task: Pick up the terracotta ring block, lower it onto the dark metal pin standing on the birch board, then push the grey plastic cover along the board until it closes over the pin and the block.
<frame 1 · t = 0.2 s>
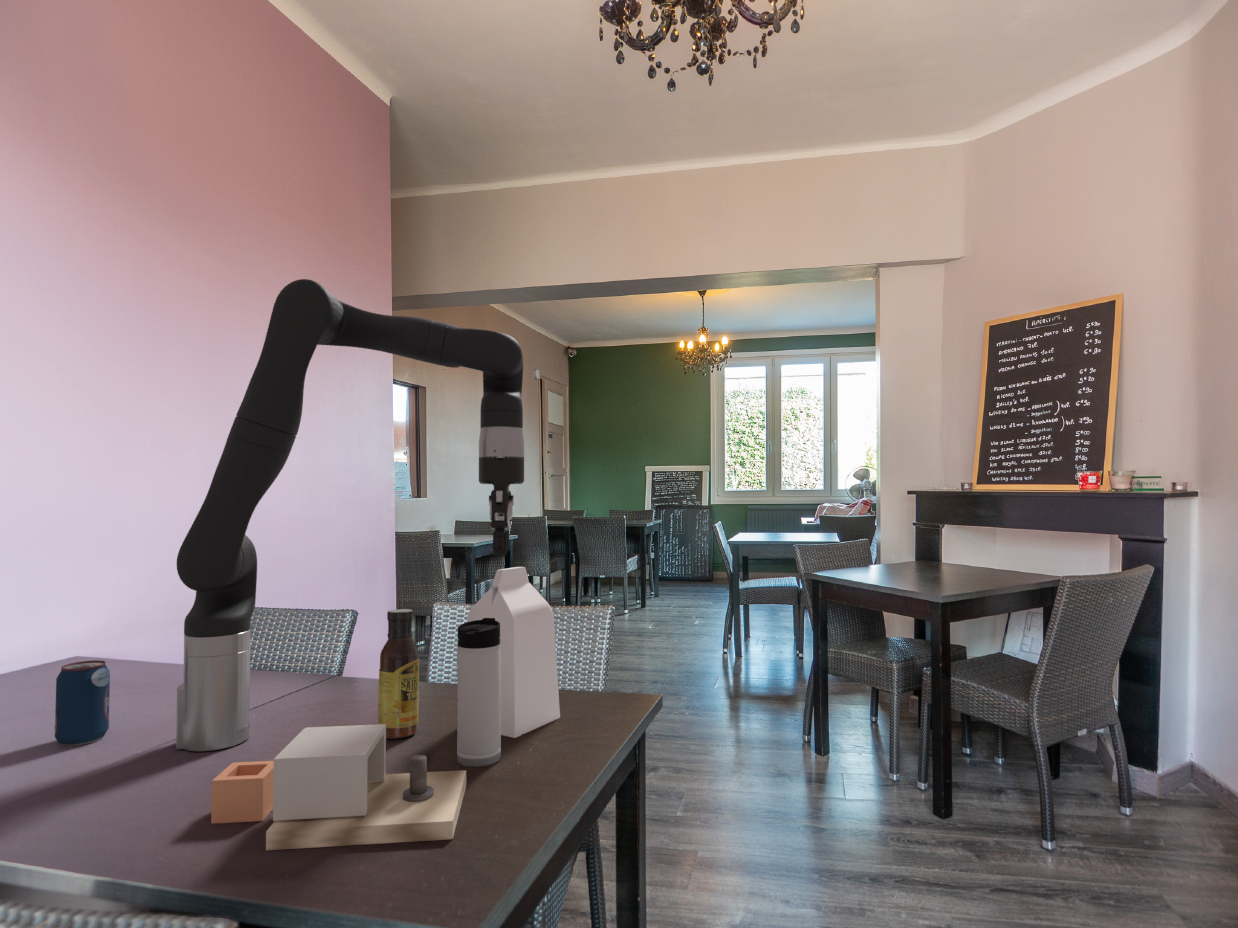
hand: (501, 553, 119), 29 cm above the table, tool pointing down, fingers open, 8 cm apart
milk: (511, 722, 122), on the table
travel mug: (479, 760, 105), on the table
board: (375, 814, 87), on the table
soda can: (82, 741, 115), on the table
sauce bottle: (398, 735, 116), on the table
ring block: (246, 811, 88), on the table
cover: (333, 768, 87), point 6 cm above the table, slide at 0.0 cm
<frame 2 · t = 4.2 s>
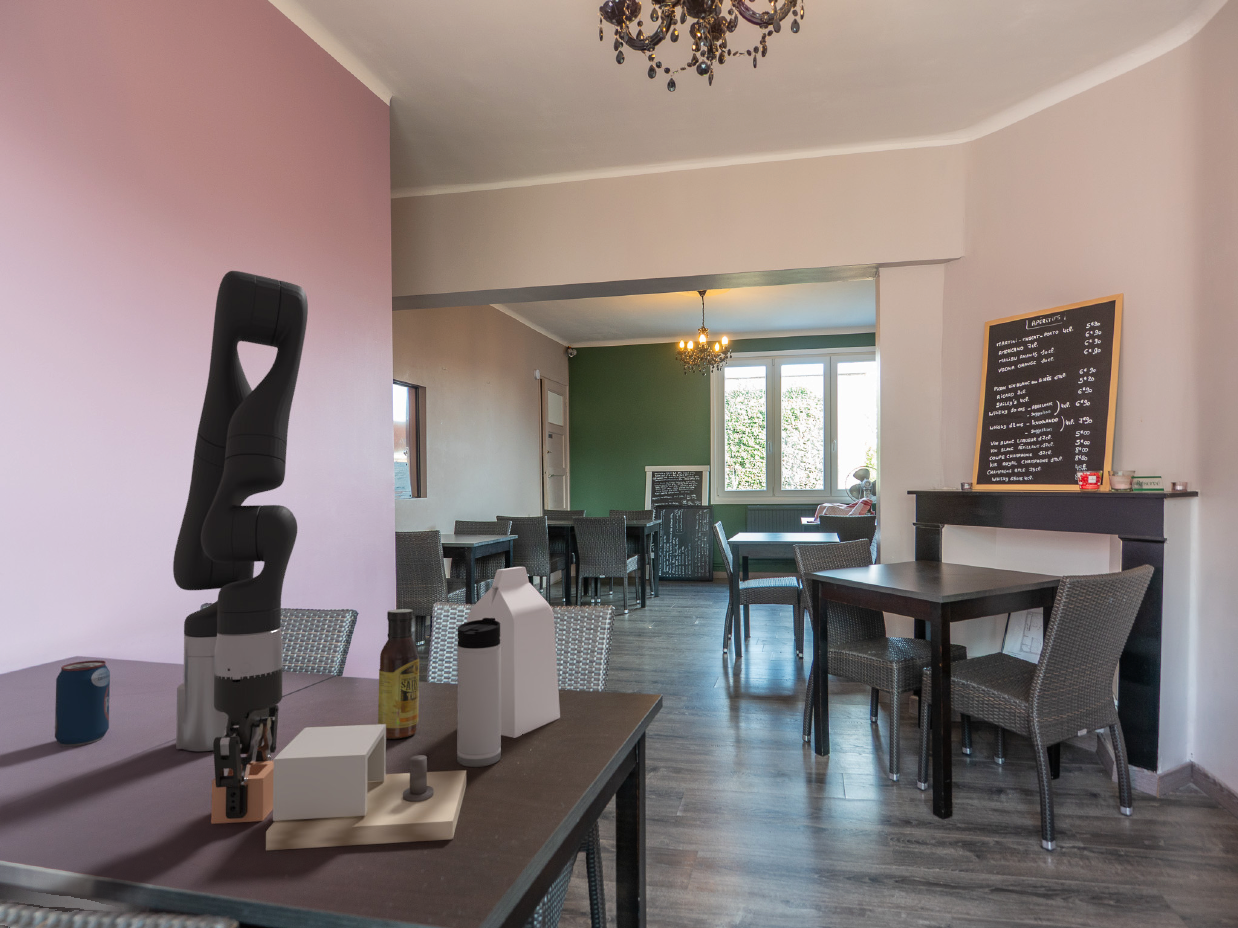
hand: (247, 804, 88), 1 cm above the table, tool pointing down, fingers closed on ring block, 5 cm apart
ring block: (247, 811, 88), on the table, touching gripper
everything else where it was.
when the fingers open (4 cm above the table, at t = 9.5 s): ring block drops 1 cm, resting on board.
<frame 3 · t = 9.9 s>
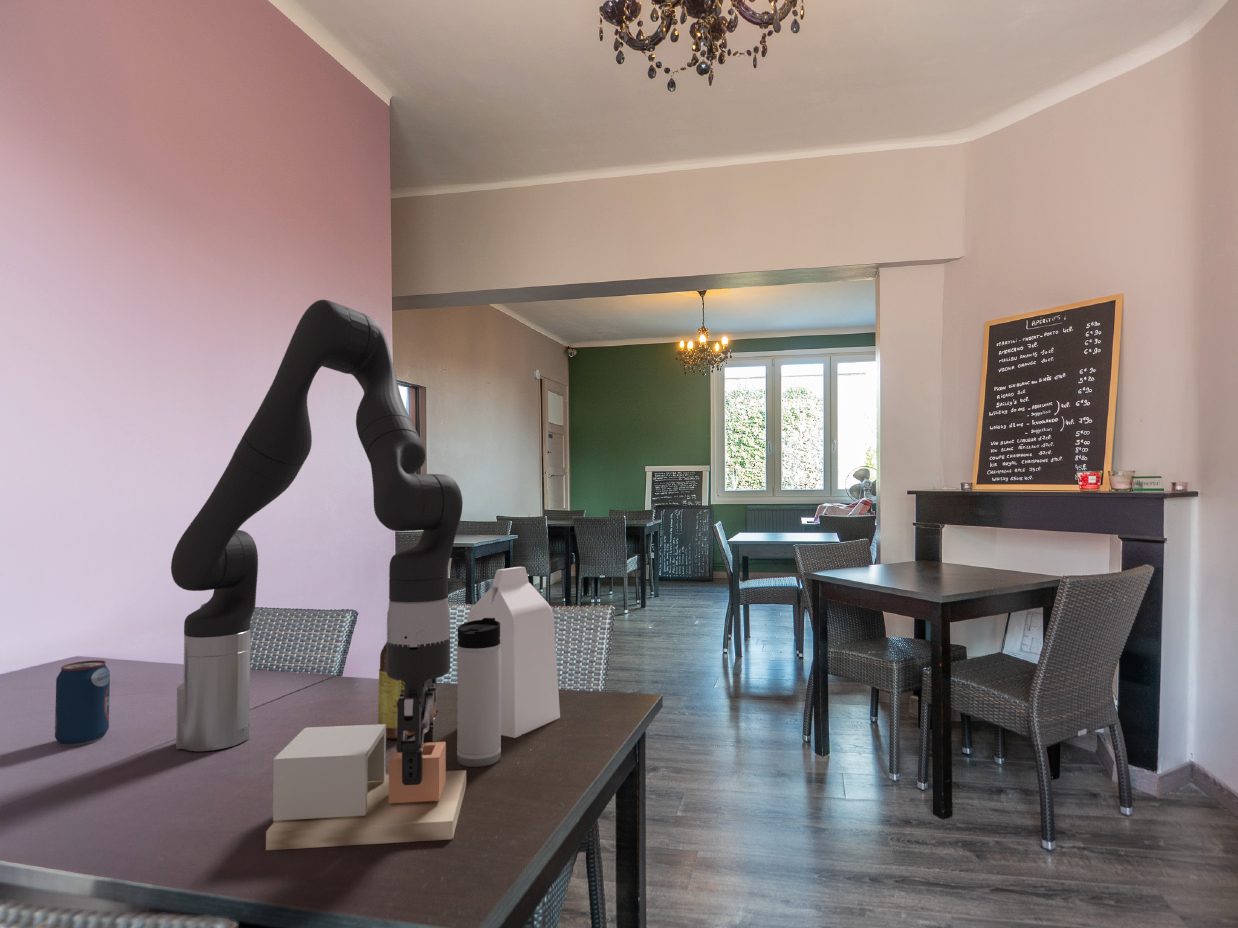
hand: (418, 769, 88), 5 cm above the table, tool pointing down, fingers open, 8 cm apart
ring block: (418, 792, 88), point 2 cm above the table, touching board
everything else where it was.
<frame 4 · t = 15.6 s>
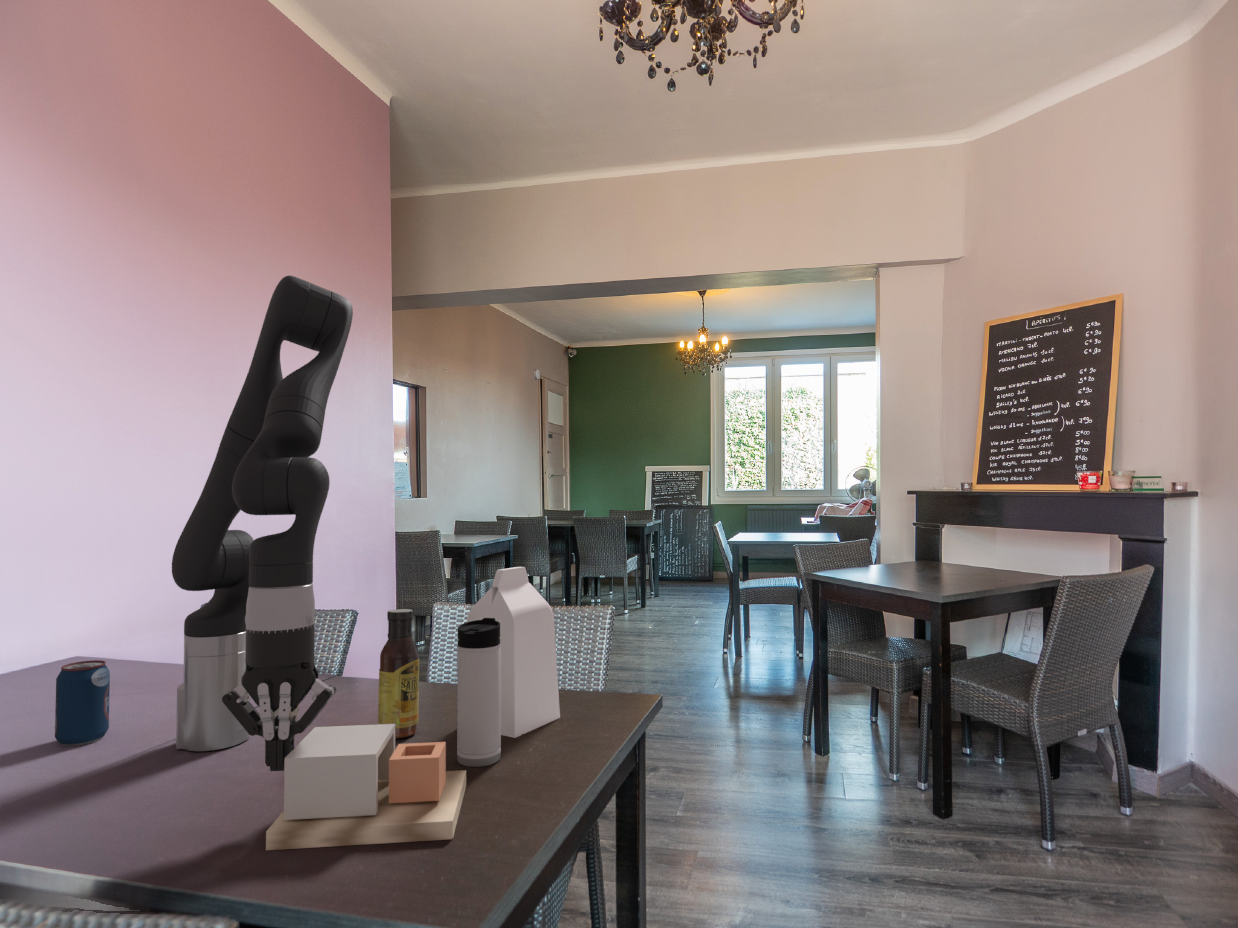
hand: (279, 768, 86), 6 cm above the table, tool pointing down, fingers closed
cover: (343, 768, 87), point 6 cm above the table, slide at 1.2 cm, touching gripper
everything else where it was.
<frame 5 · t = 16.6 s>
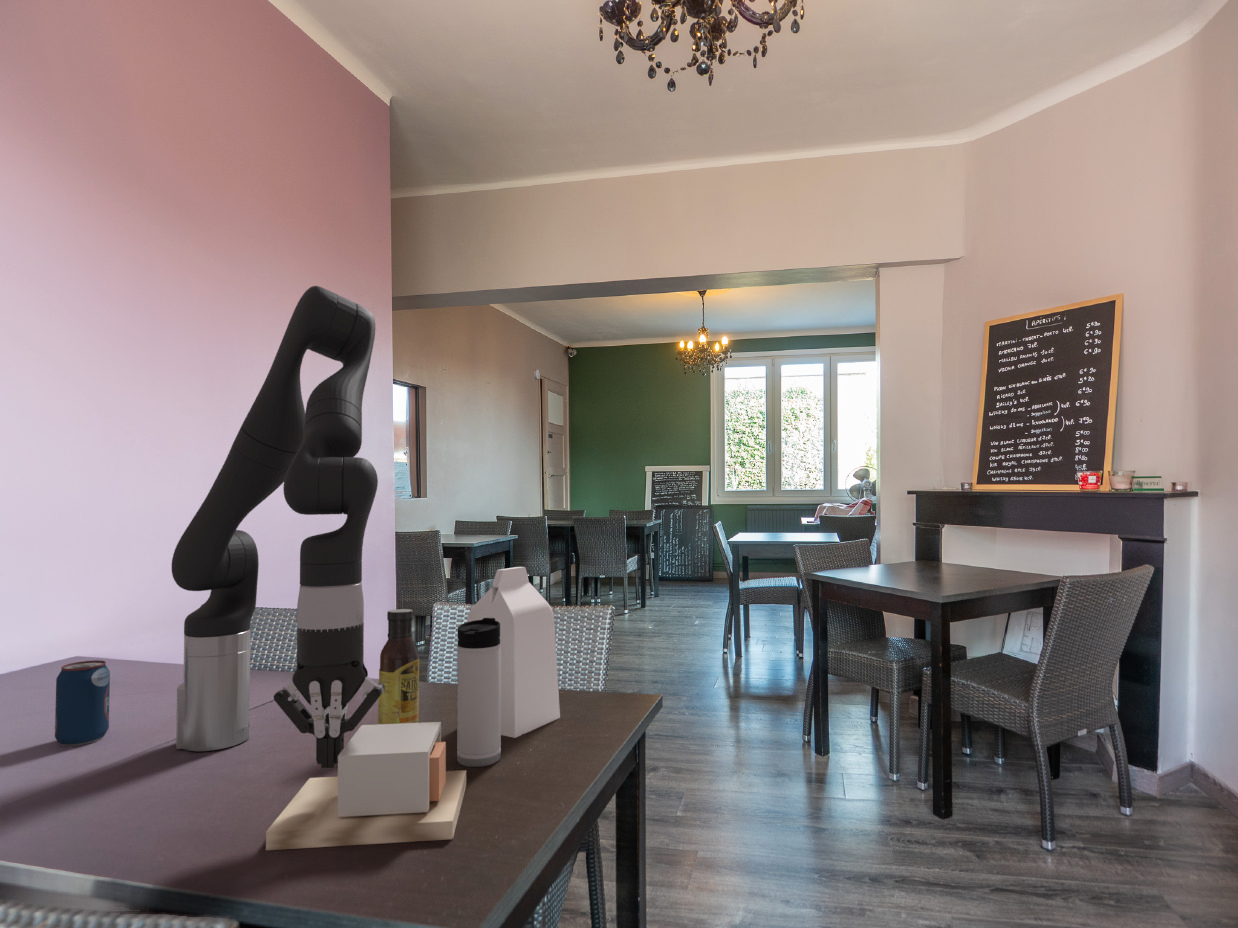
hand: (329, 766, 86), 6 cm above the table, tool pointing down, fingers closed
cover: (392, 765, 87), point 6 cm above the table, slide at 7.0 cm, touching gripper
everything else where it was.
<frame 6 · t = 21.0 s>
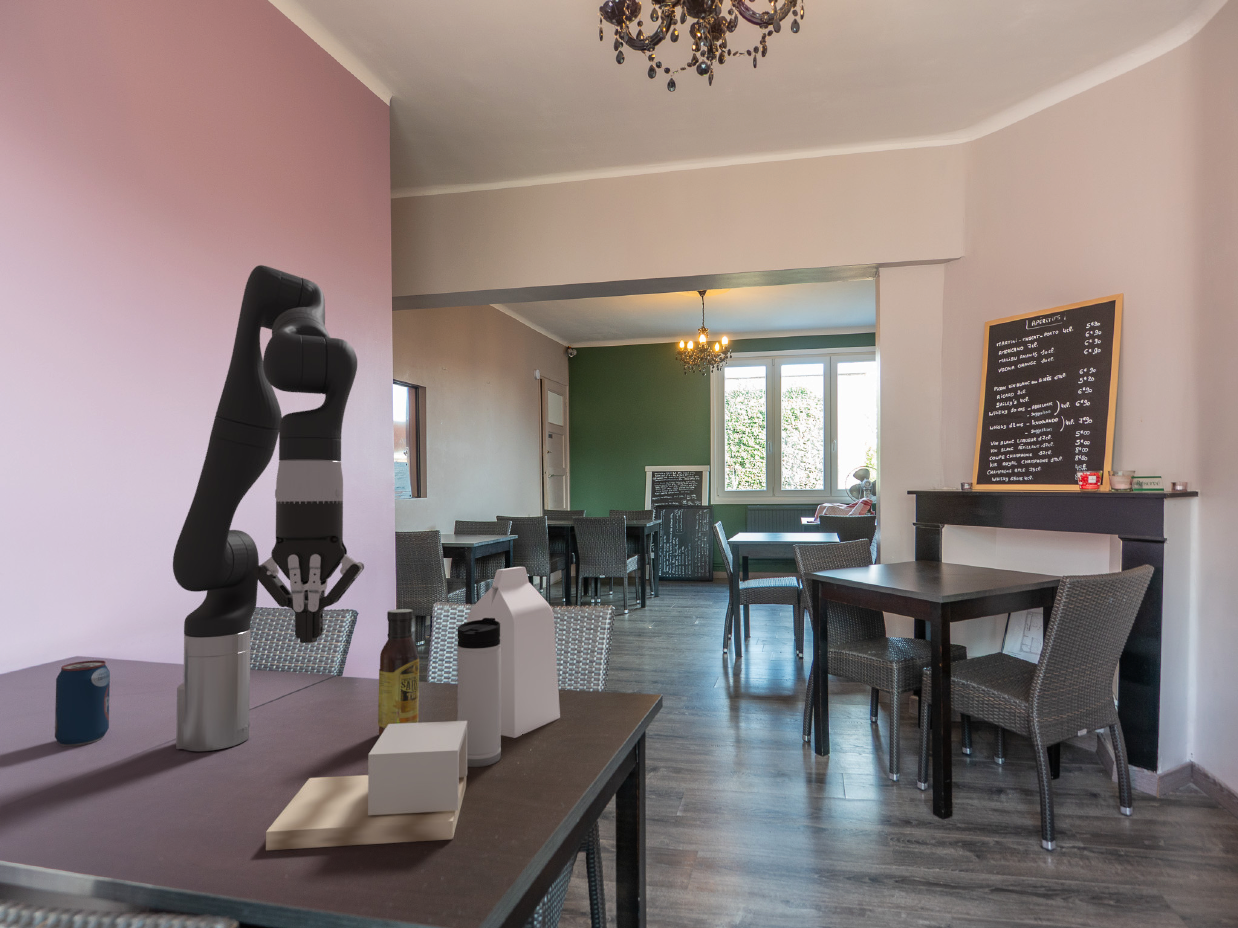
hand: (308, 641, 87), 21 cm above the table, tool pointing down, fingers closed
cover: (421, 764, 88), point 6 cm above the table, slide at 10.3 cm
everything else where it was.
at the end: ring block 0.0 cm from the target spot, point 2.4 cm above the table; cover slide at 10.3 cm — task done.
